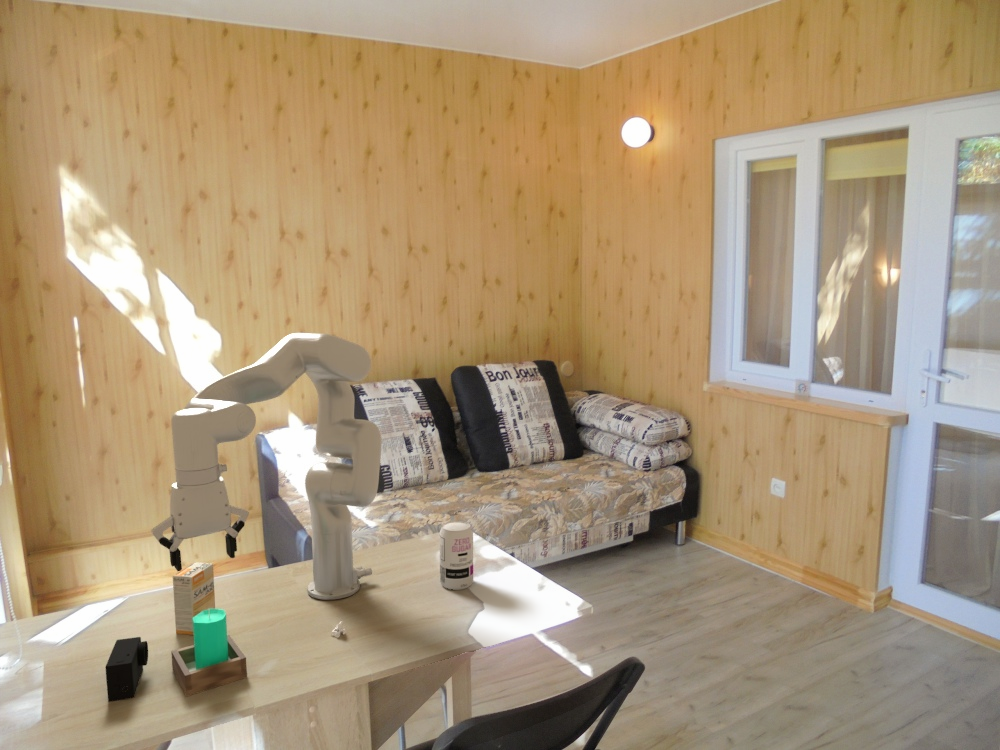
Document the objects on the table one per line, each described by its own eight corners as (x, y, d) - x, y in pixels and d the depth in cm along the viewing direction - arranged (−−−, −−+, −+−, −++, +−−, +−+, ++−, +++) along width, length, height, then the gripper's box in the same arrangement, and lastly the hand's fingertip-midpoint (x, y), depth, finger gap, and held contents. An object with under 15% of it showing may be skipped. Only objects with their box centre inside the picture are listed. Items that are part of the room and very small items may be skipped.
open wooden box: (230, 653, 151) (229, 634, 150) (247, 677, 142) (246, 657, 142) (172, 670, 145) (171, 651, 144) (186, 696, 136) (185, 675, 135)
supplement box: (195, 636, 158) (191, 577, 156) (175, 633, 159) (171, 575, 157) (217, 618, 166) (214, 562, 165) (198, 616, 167) (194, 561, 165)
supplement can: (454, 574, 190) (453, 518, 188) (480, 582, 185) (479, 524, 183) (433, 585, 183) (432, 527, 181) (459, 594, 179) (458, 534, 177)
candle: (220, 655, 148) (217, 598, 146) (234, 666, 144) (231, 608, 142) (190, 666, 144) (186, 608, 142) (203, 678, 139) (200, 618, 138)
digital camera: (141, 697, 136) (138, 661, 135) (108, 702, 134) (105, 666, 133) (149, 668, 145) (147, 635, 144) (119, 673, 144) (116, 639, 143)
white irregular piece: (340, 640, 157) (339, 626, 157) (329, 638, 158) (328, 624, 158) (347, 633, 160) (346, 619, 160) (336, 631, 161) (335, 618, 160)
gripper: (238, 462, 146) (244, 545, 149) (143, 479, 136) (151, 567, 139) (250, 471, 140) (256, 557, 143) (151, 489, 130) (160, 581, 133)
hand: (204, 562), depth 141 cm, fingers open, 9 cm apart
